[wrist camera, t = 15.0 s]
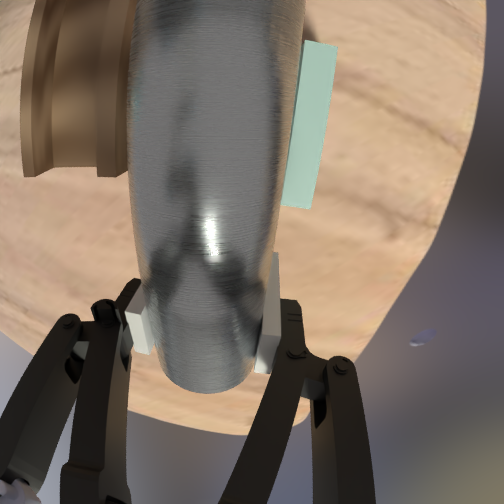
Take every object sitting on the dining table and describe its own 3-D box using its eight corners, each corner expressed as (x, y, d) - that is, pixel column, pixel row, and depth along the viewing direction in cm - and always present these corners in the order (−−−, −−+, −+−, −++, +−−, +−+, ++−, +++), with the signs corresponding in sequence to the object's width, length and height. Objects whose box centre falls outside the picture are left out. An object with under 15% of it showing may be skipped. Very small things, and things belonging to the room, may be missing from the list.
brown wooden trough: (81, 4, 13) (38, -8, 7) (173, -17, 13) (143, -48, 7) (69, 156, 21) (23, 177, 15) (153, 156, 21) (116, 177, 15)
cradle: (185, 45, 16) (165, 33, 12) (323, 58, 16) (337, 46, 12) (175, 174, 22) (155, 191, 18) (302, 189, 22) (310, 209, 18)
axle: (179, 4, 7) (110, -35, 3) (305, 5, 7) (310, -57, 3) (177, 310, 16) (144, 377, 11) (260, 327, 15) (246, 403, 11)
